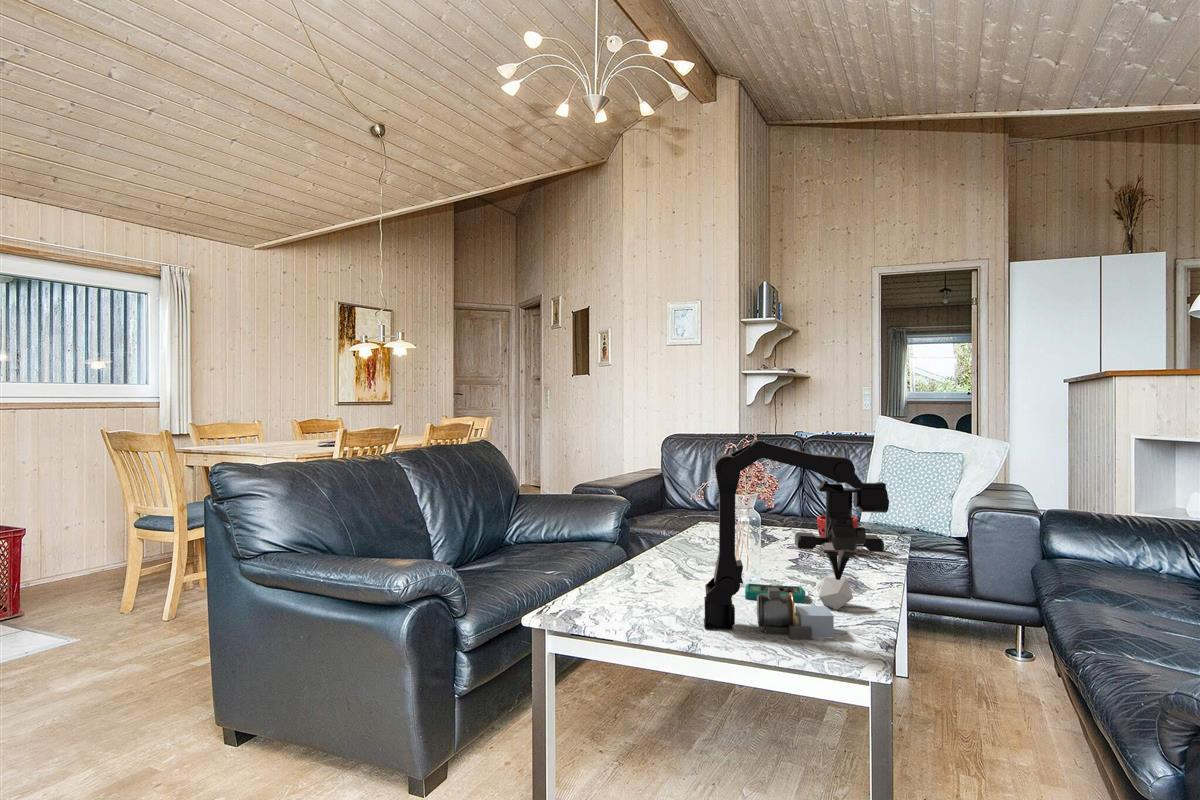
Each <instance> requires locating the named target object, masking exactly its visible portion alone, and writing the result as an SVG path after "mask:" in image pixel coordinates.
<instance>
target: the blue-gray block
mask: <svg viewBox="0 0 1200 800" xmlns="http://www.w3.org/2000/svg"><path fill="white" fill-rule="evenodd" d="M794 607H795V626H806V627H811V628H812V638H823V637H834V636H835V632H834V631H835V626H834V625H835V624H834V623H835V622H834V621H835V620H834V615H833V613H832V612H831V610H830V609H829V607H828V606H826V605H822V606H821V605H820V606H819V605H794ZM834 638H835V637H834Z"/></svg>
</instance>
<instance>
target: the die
mask: <svg viewBox="0 0 1200 800" xmlns="http://www.w3.org/2000/svg"><path fill="white" fill-rule="evenodd" d="M816 588H817V593H818V594H817V595H818V597H819V599H820V601H821V603H822V605H823V606H826V607H828V608H831V609H833V610H836V611H837V610H838V609H840V608H843V606H846V604H847V603H849V602H850V601H852V600H853V599H854V596H853V593H852V589H851V585H850V583H849V581H848V579H847V577H845V576H841V579H840V580H836V578H835V575H834V573H831V574H828V575H827V576H824V578H822V579H821V580H820V581H819V582H818V583H816Z"/></svg>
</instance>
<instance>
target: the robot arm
mask: <svg viewBox="0 0 1200 800" xmlns="http://www.w3.org/2000/svg"><path fill="white" fill-rule="evenodd" d="M760 459H765V460H769V461H772V462H777V463H781V464H785V465H790V466H793V467H797V468H802V469H804V470H808V471H809V470H810V471H811V472H814V473H816V474H819V475H821V476H823V477H825V478H826V479H827V478H828V479H829V480H832V481H834V482H836V483H829V482H828V481H827V480H825V479H824V480H823V481H822V482H821V483H820V484H819V485H818V486H816V489H817V490H818V491H819V492H821V493H822V492H823V493H825V515H826V527H825V537H820V536H816V535H815V534H814V533H813V532H802V531H797V532H796V533H795V535H794V545H795V546H796V548H797V549H800V550H814V549H815V548H816V547H817V546H819V549H820V550H821V551H822V552H823V554H826V556H827V557H828V561H829V563H830V567H831V569H832V572H833V574H834V575H835V578H836V580H840V579H841V577H843V573H844V572H845V568H846V566H847V563H848V562H849V560H850V558H851V557H852V556H854V555H857V554H858V551H857V550H856V547H857V548H859V547H860V548H866V549H867V550H868V551H869V552H871V553H872V552H873V553H874V552H875V553H877V552H878V553H883V552H885V543H884V540H883V539H882V538H880V537H879V536H878V535H877V534H867V532H866V531H867V530H866V528H865V527H858V528H854V527H853V518H852V516H853V506H854V507H855V508H858V511H859V512H860V513H881V514H882V513H883V514H885V513H888V511H889V506H890V499H889V495H888V494H889V493H888V490H887V483H885V482H880V481H879V482H863V481H862V480H861V479H860V478H859V476H858V475H857V474H856V467H855V465H854V463H853V462H852V460H851V459H850V458H847V457H843V456H841V455H838V454H837V455H835V454H819V453H809V452H806V451H802V450H798V449H794V448H789V447H785V446H781V445H778V444H773V443H769V442H766V441H764V440H762V439H755V440H753V441H752V442H751V443H750V444H747V445H746V446H743V447H742V448H740V449H738V450H736V451H734V452H733V453H731V454H727V453H725V454H721V455H720V456H718V457H717V458H716V459H715V461H714V465H713V467H714V473H715V478H716V479H715V480H716V484H717V490H718V494H719V495H718V500H719V501H718V554H717V558H716V563H715V568H714V573H713V577H712V578H711V579H710V580H709V581H708V582H707V583H706V584H705V586H704V588H705V596H704V597H703V598H704V617H703V624H704V625H703V626H704V629H706V630H723V631H724V630H726V631H731V630H732V631H734V626H735V623H736V620H735V619H736V613H735V612H736V608H735V607H736V606H735V604H733V596H734V595H736V594H738V592H739V591H740V588H741V584H742V585H744V580H743V577H742V575H743V570H744V565H743V562H742V559H739V560H737V558H736V496H737V495H736V494H737V491H738V490H737V489H738V485H739V481H740V475H741V472H742V471H744V470H745V469H747V468H748V467H750V466H751V465H752V464H754V463H756V462H757V461H758V460H760ZM843 484H846V485H848V486H850V487H851V488H848V487H847V488H846V487H844V486H843ZM829 541H832V542H829ZM836 550H839V553H838V552H837V551H836ZM837 553H838V554H837Z"/></svg>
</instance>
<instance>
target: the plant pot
mask: <svg viewBox="0 0 1200 800" xmlns="http://www.w3.org/2000/svg"><path fill="white" fill-rule="evenodd" d="M852 518H853V527H854V528H859V522H858V517H856V516H854V515H852ZM816 519H817V521H816V522H817V531H818V537H825V527H826V514H824V515H819V516H817V518H816ZM829 542H832V541H829ZM857 549H858V547H856V551H857ZM836 551H837V552H838V553H839V550H836ZM838 553H837V555H838Z"/></svg>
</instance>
